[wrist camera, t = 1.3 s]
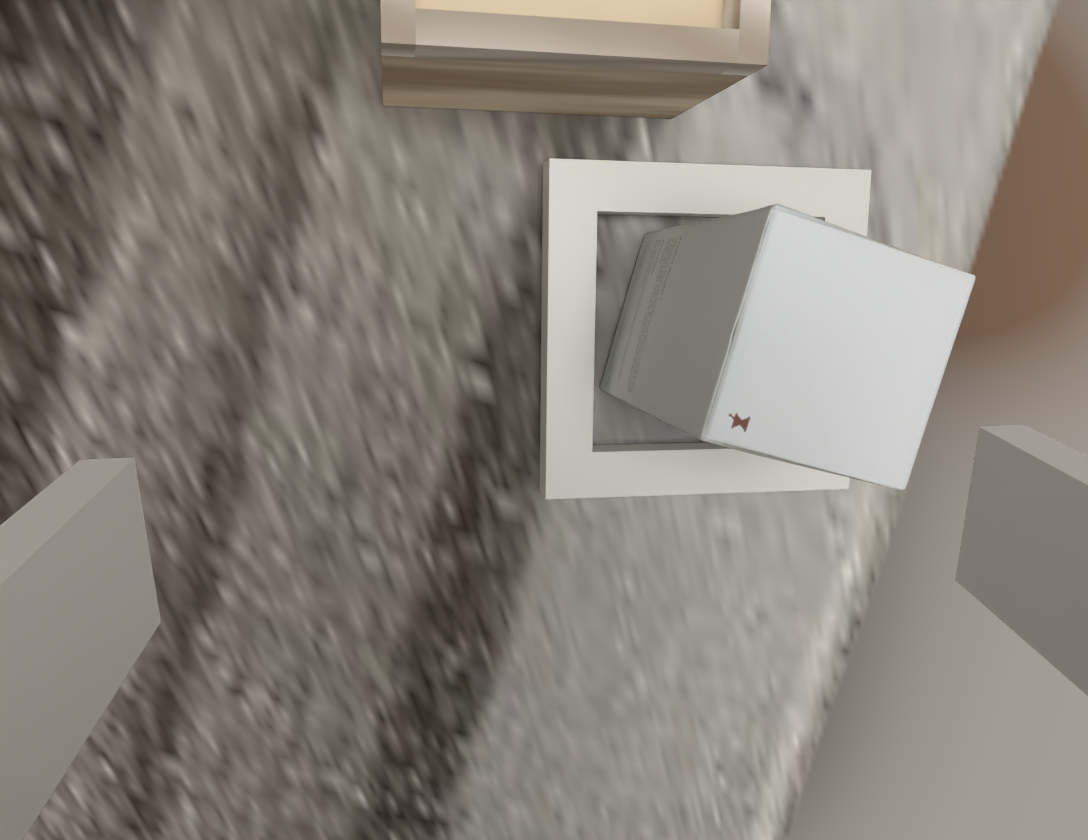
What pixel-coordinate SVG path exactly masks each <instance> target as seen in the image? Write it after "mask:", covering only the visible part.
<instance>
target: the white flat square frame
mask: <svg viewBox="0 0 1088 840" xmlns="http://www.w3.org/2000/svg"><path fill="white" fill-rule="evenodd" d="M870 183H871V170H856V169H828V168H800V167H773V166H745V165H717V164H690V163H662V162H634V161H607V160H579V159H551V158H549V159H548V160H547V161H545V162H544V163H543V208H542V305H541V402H540V492H541V494H542V495H543V496H544V498H545V499H573V498H601V497H630V496H658V495H687V494H716V493H744V492H773V491H801V490H830V489H849V481H850V478H849V477H845V476H840V475H836V474H832V473H828V472H823V471H819V470H815V469H811V468H807V467H803V466H799V465H795V464H791V463H786V462H782V461H778V460H774V459H770V458H766V457H762V456H758V455H754V454H750V453H747V452H743V451H739V450H735V449H731V448H727V447H723V446H720V445H716V444H712V443H667V444H625V445H593V397H594V348H595V299H596V250H597V214H618V215H659V216H699V217H724V216H729V215H734V214H739V213H744V212H748V211H752V210H756V209H760V208H763V207H766V206H769V205H773V204H780V205H783V206H786V207H788V208H791V209H794V210H796V211H799V212H802V213H804V214H807V215H810V216H812V217H815V218H818V219H821V220H823V221H826V222H829V223H831V224H834V225H837V226H839V227H842V228H845V229H847V230H850V231H853V232H856V233H858V234H861V235H864V236H866V237H867V226H868V211H869V197H870Z"/></svg>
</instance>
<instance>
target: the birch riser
mask: <svg viewBox="0 0 1088 840" xmlns="http://www.w3.org/2000/svg"><path fill="white" fill-rule="evenodd" d="M380 7H381V54H382V88H383V106H400V107H422V108H444V109H466V110H488V111H510V112H532V113H554V114H576V115H598V116H620V117H642V118H664V119H672V118H674V117H676V116H677V115H679V114H681V113H683V112H685V111H686V110H688V109H690V108H692V107H693V106H695V105H697V104H699V103H701V102H702V101H704V100H706V99H708V98H710V97H711V96H713V95H715V94H717V93H719V92H720V91H722V90H724V89H726V88H727V87H729V86H731V85H733V84H735V83H736V82H738V81H740V80H742V79H744V78H745V77H747V76H749V75H751V74H753V73H754V72H756V71H758V70H760V69H762V68H763V67H765V66H767V65H768V51H769V31H770V12H771V0H380Z"/></svg>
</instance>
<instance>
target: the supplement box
mask: <svg viewBox="0 0 1088 840" xmlns="http://www.w3.org/2000/svg"><path fill="white" fill-rule="evenodd" d="M974 282H975V275H972V274H969V273H966V272H963V271H960V270H957V269H954V268H951V267H948V266H945V265H942V264H939V263H937V262H934V261H931V260H928V259H925V258H923V257H920V256H917V255H914V254H912V253H909V252H906V251H904V250H901V249H898V248H896V247H893V246H890V245H888V244H885V243H882V242H880V241H877V240H874V239H872V238H869V237H866V236H864V235H861V234H858V233H856V232H853V231H850V230H847V229H845V228H842V227H839V226H837V225H834V224H831V223H829V222H826V221H823V220H821V219H818V218H815V217H812V216H810V215H807V214H804V213H802V212H799V211H796V210H794V209H791V208H788V207H786V206H783V205H780V204H773V205H769V206H766V207H763V208H760V209H756V210H752V211H748V212H744V213H739V214H734V215H729V216H724V217H719V218H714V219H709V220H704V221H699V222H695V223H690V224H685V225H681V226H675V227H670V228H667V229H663V230H659V231H655V232H650V233H646V234H645V236H644V239H643V243H642V246H641V249H640V252H639V255H638V258H637V261H636V265H635V268H634V272H633V275H632V278H631V282H630V285H629V289H628V292H627V296H626V299H625V302H624V306H623V309H622V313H621V316H620V320H619V323H618V327H617V330H616V334H615V337H614V341H613V344H612V347H611V351H610V354H609V358H608V361H607V365H606V368H605V372H604V375H603V379H602V382H601V385H600V389H601V390H602V391H604V392H606V393H608V394H610V395H612V396H614V397H616V398H618V399H620V400H622V401H624V402H626V403H628V404H630V405H632V406H634V407H636V408H638V409H640V410H642V411H644V412H646V413H648V414H650V415H652V416H654V417H656V418H658V419H660V420H662V421H664V422H666V423H668V424H670V425H672V426H674V427H676V428H677V429H679V430H681V431H683V432H685V433H688V434H689V435H691V436H693V437H695V438H697V439H699V440H702V441H705V442H708V443H712V444H716V445H720V446H723V447H727V448H731V449H735V450H739V451H743V452H747V453H750V454H754V455H758V456H762V457H766V458H770V459H774V460H778V461H782V462H786V463H791V464H795V465H799V466H803V467H807V468H811V469H815V470H819V471H823V472H828V473H832V474H836V475H840V476H845V477H849V478H853V479H857V480H861V481H866V482H870V483H874V484H878V485H883V486H887V487H891V488H894V489H899V490H904V489H905V488H906V485H907V483H908V480H909V476H910V473H911V470H912V467H913V464H914V461H915V458H916V455H917V452H918V449H919V446H920V442H921V439H922V436H923V433H924V430H925V427H926V424H927V421H928V418H929V415H930V412H931V409H932V406H933V403H934V400H935V397H936V394H937V392H938V389H939V386H940V382H941V380H942V377H943V374H944V371H945V367H946V365H947V361H948V358H949V356H950V352H951V349H952V347H953V343H954V341H955V337H956V335H957V331H958V329H959V325H960V323H961V320H962V317H963V314H964V311H965V308H966V305H967V302H968V299H969V296H970V293H971V290H972V288H973V284H974Z"/></svg>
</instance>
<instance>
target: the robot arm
mask: <svg viewBox="0 0 1088 840" xmlns="http://www.w3.org/2000/svg"><path fill="white" fill-rule="evenodd" d="M955 580H956V581H957V582H958V583H959V584H960V585H962V586H963V587H964V588H965V589H966V590H967V591H968V592H970V593H971V594H972V595H973V596H974V597H976V599H978V600H979V601H980V602H981V603H982V604H983V605H984V606H986V607H987V608H988V609H989V610H990V611H991V612H993V613H994V614H995V615H996V616H997V617H998V618H999V619H1000V620H1002V621H1003V622H1004V623H1005V624H1006V625H1007V626H1008V627H1010V628H1011V629H1012V630H1013V631H1014V632H1015V633H1016V634H1018V635H1019V636H1020V637H1021V638H1022V639H1023V640H1025V641H1026V642H1027V643H1028V644H1029V645H1030V646H1031V647H1033V648H1034V649H1035V650H1036V651H1037V652H1038V653H1039V654H1040V655H1042V656H1043V657H1044V658H1045V659H1046V660H1048V661H1049V662H1050V663H1051V664H1052V665H1053V666H1054V667H1055V668H1057V669H1058V670H1059V671H1060V672H1061V673H1062V674H1064V675H1065V676H1066V677H1067V678H1068V679H1069V680H1070V681H1072V682H1073V683H1074V684H1075V685H1076V686H1077V687H1079V689H1081V690H1082V691H1083V692H1084V693H1085V694H1086V695H1088V456H1086V455H1084V454H1082V453H1080V452H1077V451H1076V450H1074V449H1072V448H1070V447H1068V446H1066V445H1064V444H1062V443H1060V442H1057V441H1056V440H1054V439H1051V438H1049V437H1047V436H1045V435H1043V434H1041V433H1039V432H1037V431H1035V430H1033V429H1031V428H1029V427H1027V426H1025V425H1012V426H984V427H979V431H978V437H977V444H976V450H975V457H974V463H973V470H972V476H971V483H970V489H969V495H968V502H967V509H966V515H965V521H964V528H963V534H962V540H961V547H960V553H959V560H958V566H957V573H956V579H955ZM160 622H161V620H160V614H159V608H158V601H157V595H156V589H155V583H154V577H153V570H152V564H151V558H150V552H149V546H148V539H147V533H146V527H145V521H144V515H143V508H142V502H141V496H140V490H139V483H138V477H137V471H136V465H135V459H134V458H111V459H83V460H79V461H78V462H77V463H76V464H74V465H73V466H72V467H71V468H70V469H68V470H67V471H66V472H65V473H63V474H62V475H61V476H60V477H59V478H57V479H56V480H55V481H54V482H52V483H51V484H50V485H49V486H48V487H46V488H45V489H44V490H43V491H42V492H40V493H39V494H38V495H37V496H35V497H34V498H33V499H32V500H31V501H29V502H28V503H27V504H26V505H24V506H23V507H22V508H21V509H20V510H18V511H17V512H16V513H15V514H14V515H12V516H11V517H10V518H9V519H7V520H6V521H5V522H4V523H3V524H1V525H0V840H23V839H24V838H25V836H26V835H27V833H28V831H29V830H30V828H31V827H32V825H33V824H34V822H35V820H36V819H37V817H38V816H39V814H40V812H41V811H42V809H43V808H44V806H45V805H46V803H47V801H48V800H49V798H50V797H51V795H52V793H53V792H54V790H55V789H56V787H57V786H58V784H59V782H60V781H61V779H62V778H63V776H64V774H65V773H66V771H67V770H68V768H69V767H70V765H71V763H72V762H73V760H74V759H75V757H76V755H77V754H78V752H79V751H80V749H81V748H82V746H83V744H84V743H85V741H86V740H87V738H88V736H89V735H90V733H91V732H92V730H93V729H94V727H95V725H96V724H97V722H98V721H99V719H100V717H101V716H102V714H103V713H104V711H105V710H106V708H107V706H108V705H109V703H110V702H111V700H112V698H113V697H114V695H115V694H116V692H117V691H118V689H119V687H120V686H121V684H122V683H123V681H124V679H125V678H126V676H127V675H128V673H129V672H130V670H131V668H132V667H133V665H134V664H135V662H136V660H137V659H138V657H139V656H140V654H141V652H142V651H143V649H144V648H145V646H146V645H147V643H148V641H149V640H150V638H151V637H152V635H153V633H154V632H155V630H156V629H157V627H158V626H159V624H160Z"/></svg>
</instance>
